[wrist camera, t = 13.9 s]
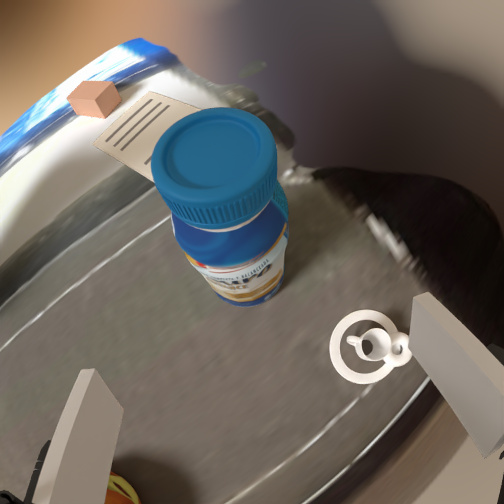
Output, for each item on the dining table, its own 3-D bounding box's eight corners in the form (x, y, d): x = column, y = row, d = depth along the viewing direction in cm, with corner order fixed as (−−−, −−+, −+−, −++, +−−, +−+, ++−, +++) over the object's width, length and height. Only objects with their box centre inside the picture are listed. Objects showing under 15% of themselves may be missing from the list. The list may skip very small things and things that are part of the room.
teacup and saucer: (416, 341, 29) (432, 336, 25) (376, 401, 27) (389, 405, 23) (357, 296, 32) (367, 286, 28) (313, 355, 30) (318, 353, 26)
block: (94, 100, 41) (66, 98, 43) (105, 119, 46) (77, 115, 48) (112, 81, 43) (83, 80, 45) (122, 100, 47) (92, 98, 49)
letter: (172, 193, 38) (171, 192, 38) (92, 144, 43) (92, 143, 43) (237, 125, 42) (237, 123, 41) (149, 92, 47) (149, 91, 47)
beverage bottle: (294, 246, 34) (308, 107, 15) (273, 319, 31) (267, 239, 13) (223, 228, 35) (174, 91, 17) (197, 296, 33) (105, 200, 14)
